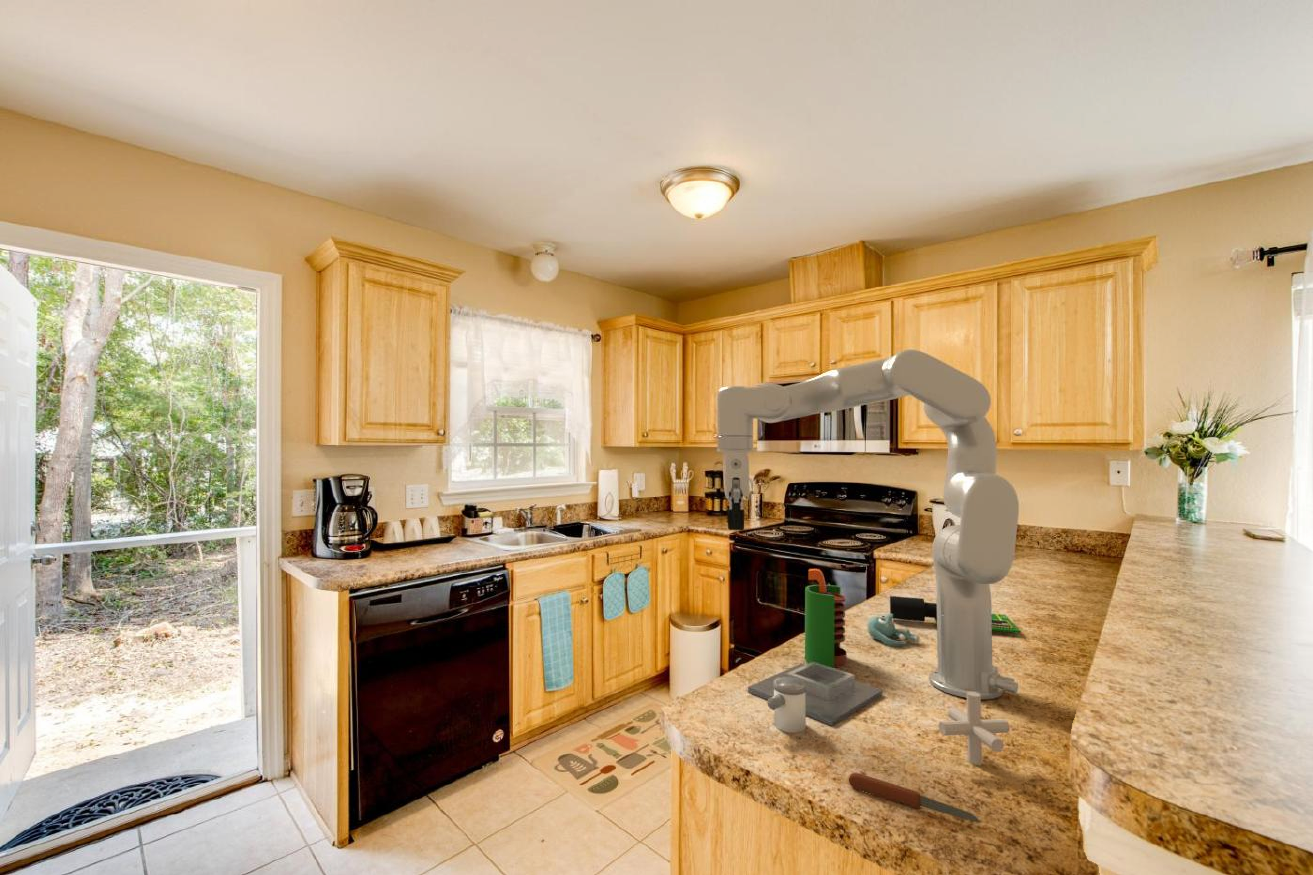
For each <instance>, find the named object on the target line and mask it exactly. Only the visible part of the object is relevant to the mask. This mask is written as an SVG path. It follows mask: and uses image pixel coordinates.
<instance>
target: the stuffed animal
mask: <svg viewBox="0 0 1313 875" xmlns="http://www.w3.org/2000/svg"><path fill="white" fill-rule="evenodd" d="M892 618H893V614H890V613H888V614H885V615H878V614H875V615H874V616H873V617H871V618H870V619H869V620H868V621H867V625H866V629H867V633H868V634H869V636H870V637H871V638H873V639H875V640H877V641H880V640H881V641H880V642H882V643H883V644H884V645H886V646H890V647H902V646H907V643H908V642H907V641H909V640H910V641H911V642H913V643H916V644H918V643H919V642H920V635H918V634H916V633H911V632H910V630H909V629H908V628H906V627H900V628H896V626H895V622H894V619H892ZM892 638H894V639H892ZM897 639H900V640H897Z"/></svg>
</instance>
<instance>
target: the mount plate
mask: <svg viewBox="0 0 1313 875" xmlns="http://www.w3.org/2000/svg"><path fill="white" fill-rule="evenodd" d="M780 677H792V678H797V679H800V680H802V681H803V682H805V684H806V691H805V702H806V716H807V717H809V718H812V719H813V720H816V721H819V722H820V723H824V724H825V725H829V726H832V727H834V725H837V724H838V723H840V722H841V721H843V720H845V719H846V718H848V717H849V716H851V715H853V714H854V713H856V712H857V711H859V710H861V709H862V708H864V707H866V706H867V705H870V704H871V703H873V702H874V701H875V700H878V699H879V698H881V697H882V696H883V689H881V688H879V687H874V686H872V685H868V684H865V683H861V682H858V681H856V680H855V674H853V673H851V672H847V671H844V670H841V669H837V668H835V667H834V668H831V667H828V666H825V665H822V664H819V663H815V662H811V663H807V664H804V663H799V664H797V665H795V666H794V665H793V666H792V667H790V668H788V669H786V670H783V671H781V672H779V673H777V674H774V675H772V676H770V677H767V678H766V679H762V680H760V681H758V682H756V683H753V684H752V685H749V686H747V692H748V693H749V694H752V695H754V696H757V697H760V698H761V699H764V700H767V701H768V699H769V698H771V697H773V696H774V688H773V681H774V680H775V679H777V678H780Z"/></svg>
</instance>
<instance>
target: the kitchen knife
mask: <svg viewBox="0 0 1313 875" xmlns="http://www.w3.org/2000/svg"><path fill="white" fill-rule="evenodd" d="M848 783H849V785H850V786H851V787H852V788H853V789H855V790H856V789H857V791H859V790H861V791H860V792H862V791H864V792H863V793H865V792H867V793H866V794H868V793H870V794H869V795H872V794H873V795H872V796H875V795H877V797H879V796H880V797H879V798H885V799H887V800H891V801H895V802H899V803H902V804H904V805H906V806H908V807H910V808H912V809H913V808H914V809H916V810H919V809H920V808H921V807H923V808H925V809H929V810H932V811H935V812H939V813H942V814H946V815H949V816H952V817H957V818H959V819H963V820H966V821H970V822H975V823H978V824H979V823H981V820H980V819H979V818H978V817H977V816H976V815H975V814H973V813H971V812H969V811H967V810H964V809H961V808H958V807H955V806H954V805H953V806H952V805H950V804H949V803H944V802H942V801H938V800H935V799H933V798H930V797H927V796H924V795H921V794H920V792H919V791H916V790H913V789H910V788H907V787H903V786H900V785H897V784H894V783H890V782H887V781H885V780H881V779H878V778H875V777H871V776H868V775H865V774H863V773H859V772H851V774H850V775H849V777H848Z"/></svg>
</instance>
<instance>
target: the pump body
mask: <svg viewBox="0 0 1313 875" xmlns="http://www.w3.org/2000/svg"><path fill="white" fill-rule="evenodd" d="M773 688H774V696H773V697H771V698H769V699H768V700H767V702H766V704H767V707H768V708H769V709H770V710H772V711H773V718H774V719H773V720H774V721H773V725H774V726H775V728H776V729H777V730H779V731H782V732H784V733H790V734H797V733H798V734H799V733H802V732H804V731H805V730H806V728H807V727H806V725H807V722H806V721H807V719H806V718H807V717H806V702H805V691H806V684H805V682H803V681H802V680H800V679H797V678H792V677H780V678H777V679H775V680H774V681H773Z"/></svg>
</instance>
